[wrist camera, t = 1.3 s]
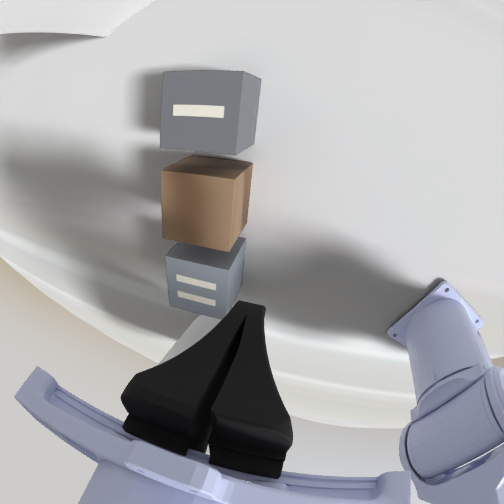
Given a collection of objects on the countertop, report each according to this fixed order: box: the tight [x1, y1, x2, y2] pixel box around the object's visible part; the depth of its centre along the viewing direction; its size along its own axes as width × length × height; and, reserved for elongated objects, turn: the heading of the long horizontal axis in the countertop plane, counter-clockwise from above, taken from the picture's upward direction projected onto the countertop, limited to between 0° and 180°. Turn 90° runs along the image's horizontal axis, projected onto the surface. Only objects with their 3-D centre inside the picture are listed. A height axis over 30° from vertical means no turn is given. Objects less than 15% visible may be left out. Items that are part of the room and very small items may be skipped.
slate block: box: [165, 237, 246, 320], centre depth 23 cm, size 5×5×5 cm
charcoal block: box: [160, 70, 261, 155], centre depth 17 cm, size 5×5×5 cm
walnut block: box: [161, 156, 253, 252], centre depth 20 cm, size 5×5×5 cm
